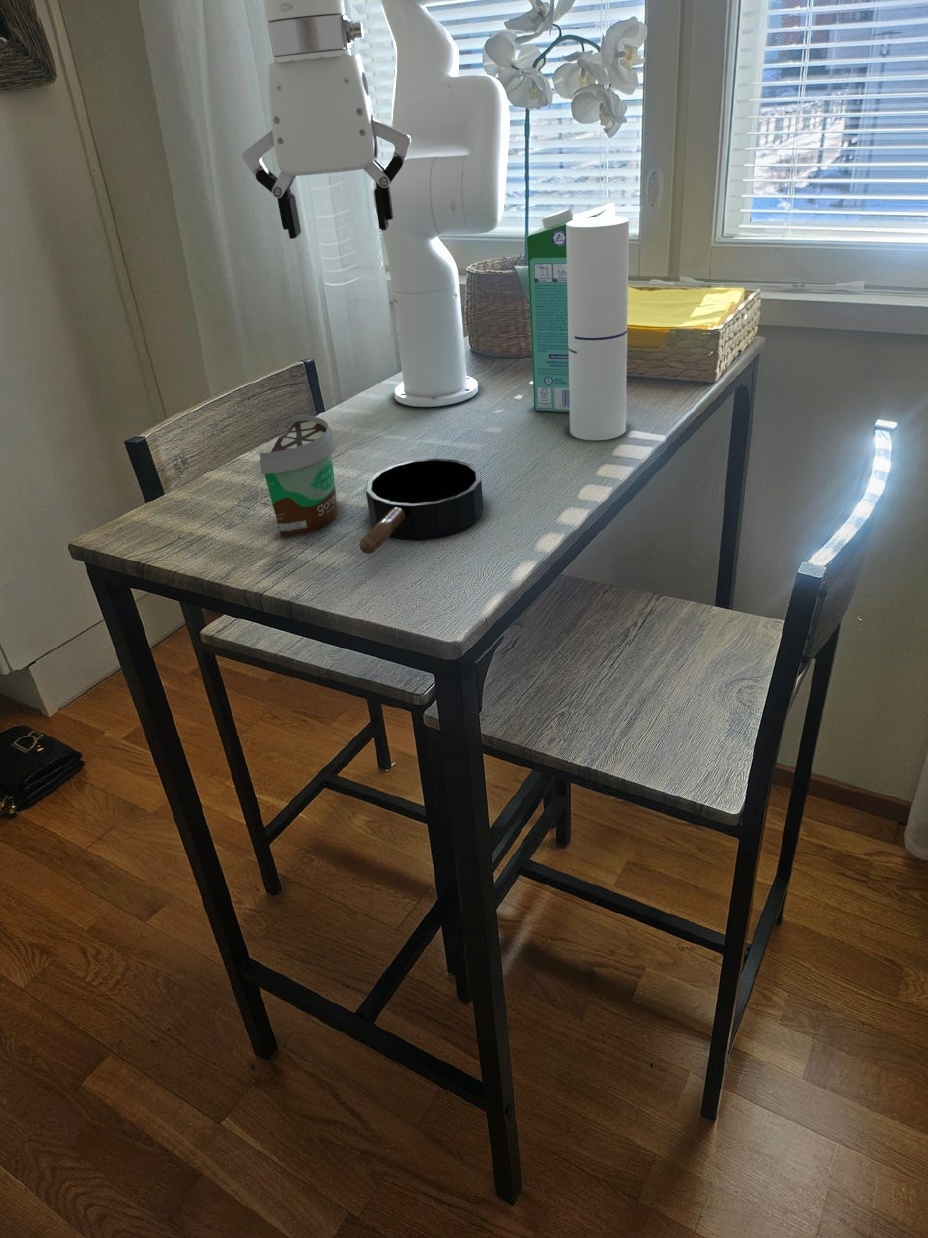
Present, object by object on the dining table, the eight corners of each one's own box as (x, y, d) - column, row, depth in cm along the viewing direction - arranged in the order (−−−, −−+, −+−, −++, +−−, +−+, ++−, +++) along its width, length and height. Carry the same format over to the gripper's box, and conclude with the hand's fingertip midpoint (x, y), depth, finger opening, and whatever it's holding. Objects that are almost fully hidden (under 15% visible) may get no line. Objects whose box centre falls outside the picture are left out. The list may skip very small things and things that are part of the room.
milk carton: (553, 389, 129) (547, 204, 116) (613, 392, 126) (614, 201, 113) (533, 410, 122) (525, 215, 109) (597, 414, 119) (596, 213, 106)
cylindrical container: (604, 444, 110) (605, 228, 96) (558, 433, 114) (553, 225, 101) (636, 426, 114) (641, 217, 101) (591, 417, 118) (590, 215, 105)
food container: (332, 542, 93) (316, 453, 87) (276, 543, 94) (257, 455, 88) (359, 493, 103) (346, 411, 98) (309, 494, 104) (293, 413, 99)
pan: (400, 487, 104) (395, 455, 102) (499, 495, 99) (496, 461, 97) (313, 571, 88) (306, 535, 86) (427, 585, 83) (422, 547, 81)
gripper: (402, 32, 87) (422, 218, 97) (231, 50, 88) (268, 233, 98) (395, 31, 81) (417, 231, 90) (212, 51, 82) (252, 246, 92)
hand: (339, 231), depth 94 cm, fingers open, 9 cm apart
